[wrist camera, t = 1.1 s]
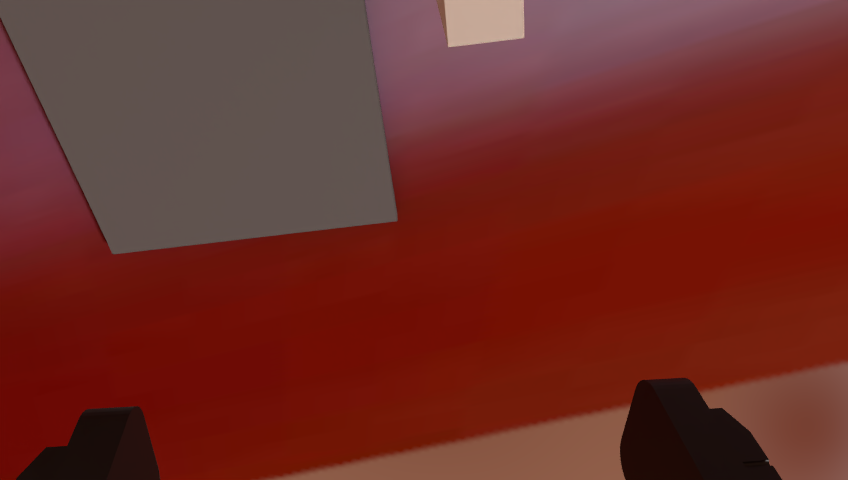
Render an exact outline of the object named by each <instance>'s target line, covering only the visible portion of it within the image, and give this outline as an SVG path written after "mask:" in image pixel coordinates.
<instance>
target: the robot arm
mask: <svg viewBox="0 0 848 480" xmlns="http://www.w3.org/2000/svg"><path fill="white" fill-rule="evenodd" d="M620 457H621V465H622V469H623V473H624V477H625V479H626V480H782V479H781V477H780V476H779V474H778V473H777V471H776V470H775V468H774V467H773V466H770V465H769V459H768V458H767V456H766V455H765V453H764V452H763V450H762V449H761V447H760V446H759V444H758V443H757V441H756V440H755V439H754V437H753V435H752V434H751V432H750V431H749V430H747V429H746V428H745V427H744V426H742V425H741V424H740V423H739V422H738V421H737V420H736V419H734V418H733V417H732V416H731V415H730V414H728V413H727V412H726V411H725V410H724V409H722V408H715V409H709V408H708V406H707V404H706V403H705V401H704V400H703V398H702V396H701V395H700V393H699V392H698V390H697V388H696V387H695V385H694V384H693V383H692V382H691V381H690V380H689V379H687V378H673V379H655V380H642V381H640V382H639V383H638V385H637V387H636V389H635V393H634V396H633V400H632V403H631V407H630V411H629V414H628V418H627V421H626V425H625V428H624V432H623V435H622V439H621V444H620ZM16 480H160V475H159V469H158V465H157V462H156V458H155V454H154V451H153V447H152V444H151V440H150V436H149V433H148V429H147V425H146V422H145V418H144V415H143V412H142V410H141V409H140V407H138V406H136V407H118V408H100V409H87V410H85V411H84V412H83V413H82V415H81V416H80V418H79V420H78V422H77V425H76V427H75V429H74V432H73V434H72V436H71V439H70V441H69V443H68V446H61V447H46V448H45V449H44V450H43V451H42V452H41V453H40V454H39V455H38V456H37V457H36V459H35V460H34V461H33V462H32V463H31V464H30V465H29V466H28V467H27V468H26V469H25V470H24V471H23V472H22V473H21V474H20V475H19V476H18V477H17V479H16Z"/></svg>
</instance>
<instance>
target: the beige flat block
mask: <svg viewBox="0 0 848 480" xmlns="http://www.w3.org/2000/svg"><path fill="white" fill-rule="evenodd" d="M437 4H438V8H439V12H440V16H441V20H442V24H443V28H444V32H445V36H446V40H447V44H448V47H454V46H462V45H471V44H479V43H487V42H495V41H503V40H512V39H520V38H524V0H437Z"/></svg>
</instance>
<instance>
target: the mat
mask: <svg viewBox="0 0 848 480" xmlns="http://www.w3.org/2000/svg"><path fill="white" fill-rule="evenodd" d="M0 18H1V20H2V22H3V24H4V26H5V28H6V30H7V32H8V35H9V37H10V39H11V41H12V43H13V45H14V47H15V49H16V51H17V54H18V56H19V58H20V60H21V62H22V64H23V66H24V68H25V70H26V72H27V75H28V77H29V79H30V81H31V83H32V85H33V87H34V89H35V91H36V94H37V96H38V98H39V100H40V102H41V104H42V106H43V108H44V110H45V112H46V115H47V117H48V119H49V121H50V123H51V125H52V127H53V129H54V131H55V134H56V136H57V138H58V140H59V142H60V144H61V146H62V148H63V150H64V152H65V155H66V157H67V159H68V161H69V163H70V165H71V167H72V169H73V171H74V174H75V176H76V178H77V180H78V182H79V184H80V186H81V188H82V190H83V193H84V195H85V197H86V199H87V201H88V203H89V205H90V207H91V209H92V211H93V214H94V216H95V218H96V220H97V222H98V224H99V226H100V228H101V230H102V233H103V235H104V237H105V239H106V241H107V243H108V245H109V247H110V249H111V251H112V254H119V253H128V252H136V251H145V250H153V249H162V248H170V247H179V246H187V245H196V244H205V243H213V242H222V241H230V240H239V239H247V238H256V237H264V236H273V235H281V234H290V233H299V232H307V231H316V230H324V229H333V228H341V227H350V226H358V225H367V224H375V223H384V222H392V221H397V210H396V203H395V197H394V190H393V184H392V177H391V171H390V164H389V158H388V151H387V144H386V138H385V131H384V125H383V118H382V112H381V105H380V99H379V92H378V86H377V79H376V73H375V66H374V59H373V53H372V46H371V40H370V33H369V27H368V20H367V14H366V7H365V1H364V0H0Z"/></svg>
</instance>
